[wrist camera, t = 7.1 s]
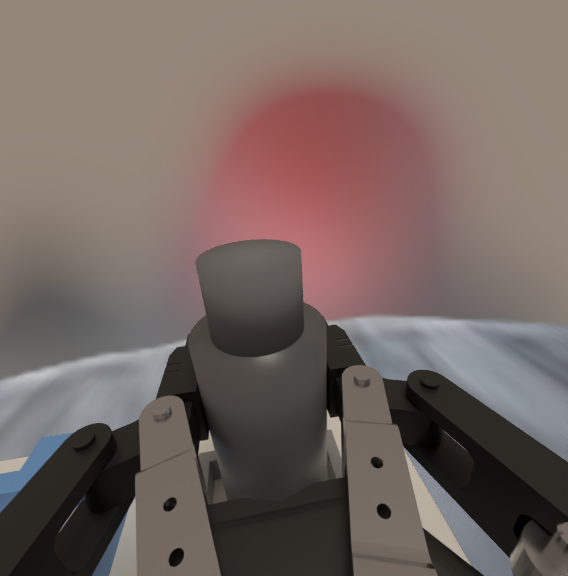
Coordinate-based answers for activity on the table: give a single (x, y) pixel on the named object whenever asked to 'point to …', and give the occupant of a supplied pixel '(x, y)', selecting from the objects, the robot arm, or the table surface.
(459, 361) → the table surface
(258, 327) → the stepped grey cylinder
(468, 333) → the table surface
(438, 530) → the panel
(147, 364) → the table surface
